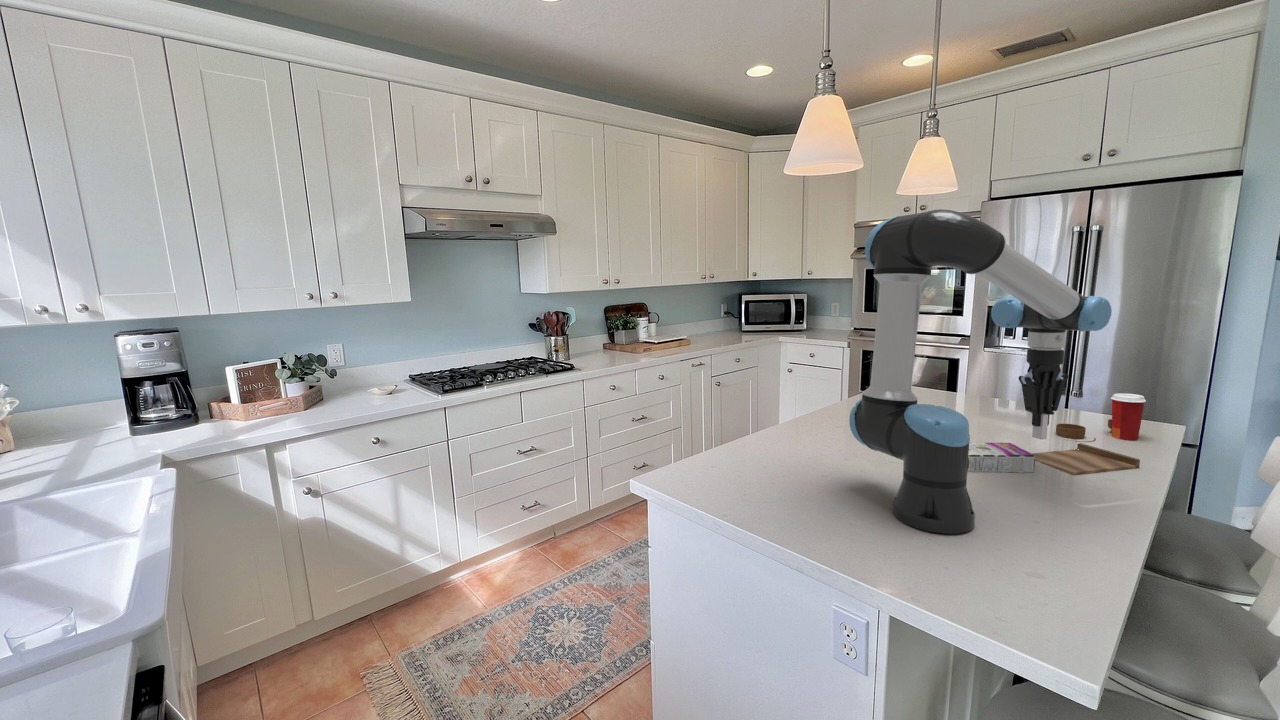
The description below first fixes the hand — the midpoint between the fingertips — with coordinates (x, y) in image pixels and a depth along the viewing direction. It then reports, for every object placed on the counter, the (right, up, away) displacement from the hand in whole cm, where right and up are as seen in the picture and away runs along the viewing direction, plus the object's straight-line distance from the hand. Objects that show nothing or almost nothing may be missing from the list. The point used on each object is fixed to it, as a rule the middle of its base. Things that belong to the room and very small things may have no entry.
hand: (1039, 437), depth 136 cm
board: (+13, -7, +3) cm, 15 cm away
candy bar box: (-3, -5, +1) cm, 6 cm away
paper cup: (+42, -4, +21) cm, 47 cm away
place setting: (+31, -5, +22) cm, 39 cm away
